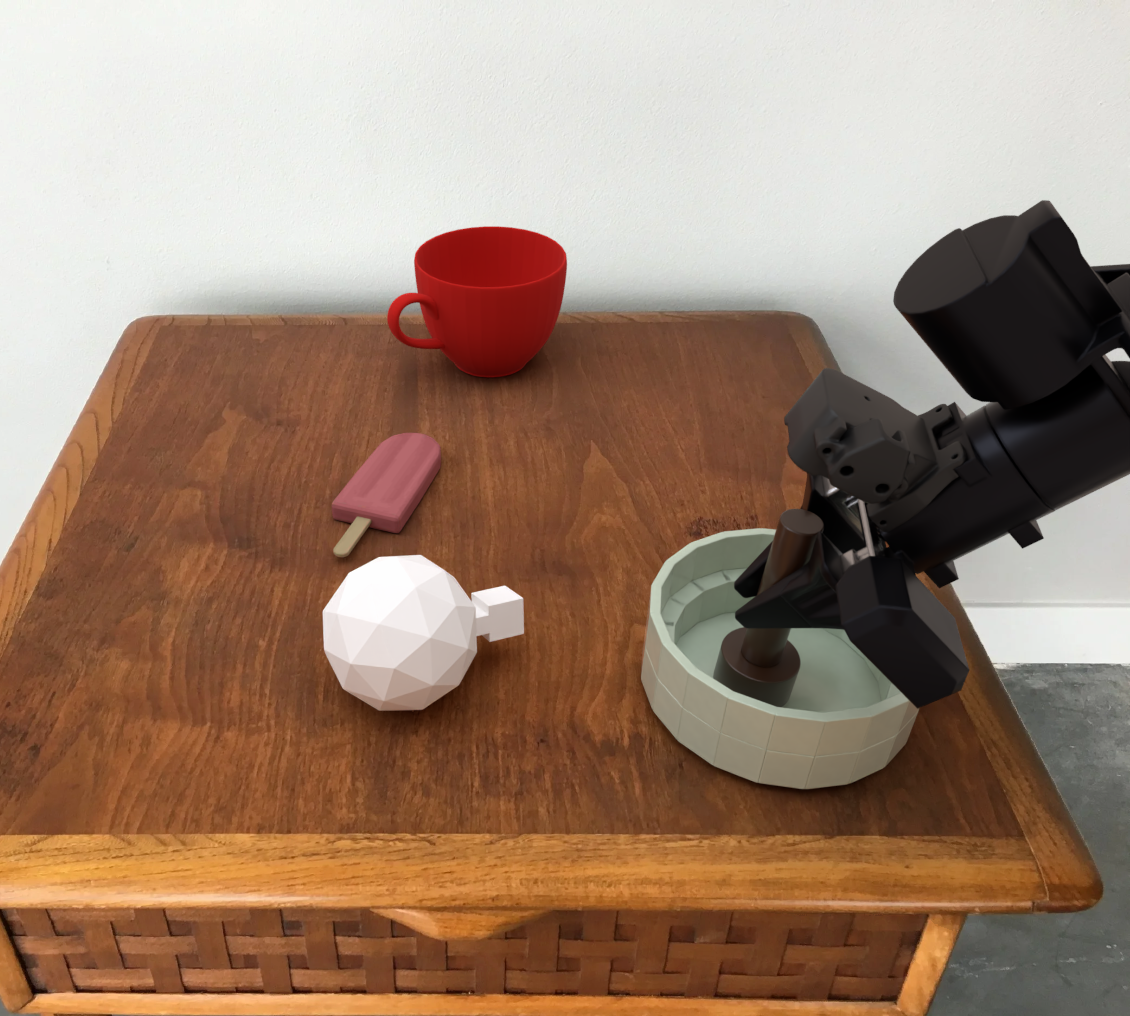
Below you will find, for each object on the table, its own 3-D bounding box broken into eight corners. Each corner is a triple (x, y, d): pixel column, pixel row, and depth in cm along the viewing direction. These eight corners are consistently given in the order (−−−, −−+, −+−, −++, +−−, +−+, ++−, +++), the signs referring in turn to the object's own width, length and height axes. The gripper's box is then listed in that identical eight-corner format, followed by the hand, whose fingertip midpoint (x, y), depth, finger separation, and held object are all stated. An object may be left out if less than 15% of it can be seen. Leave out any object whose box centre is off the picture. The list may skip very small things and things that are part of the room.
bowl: (888, 615, 64) (912, 542, 61) (930, 815, 52) (964, 739, 49) (645, 588, 67) (654, 516, 63) (634, 773, 55) (644, 698, 51)
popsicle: (302, 538, 69) (389, 425, 80) (304, 555, 70) (390, 442, 81) (373, 555, 68) (452, 438, 79) (375, 572, 69) (453, 454, 80)
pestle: (762, 649, 61) (812, 488, 54) (806, 702, 58) (865, 539, 50) (698, 666, 60) (741, 503, 52) (740, 721, 56) (791, 556, 49)
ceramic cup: (354, 367, 91) (344, 262, 85) (501, 314, 99) (502, 214, 93) (438, 429, 83) (434, 317, 77) (592, 365, 90) (599, 259, 84)
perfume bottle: (356, 759, 54) (552, 704, 58) (344, 599, 51) (550, 556, 56) (306, 690, 61) (483, 647, 66) (293, 548, 58) (479, 513, 63)
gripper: (890, 252, 52) (650, 418, 60) (962, 456, 37) (632, 636, 46) (1008, 398, 55) (765, 535, 64) (1116, 637, 41) (782, 773, 49)
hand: (738, 605), depth 55 cm, fingers closed on pestle, 2 cm apart
